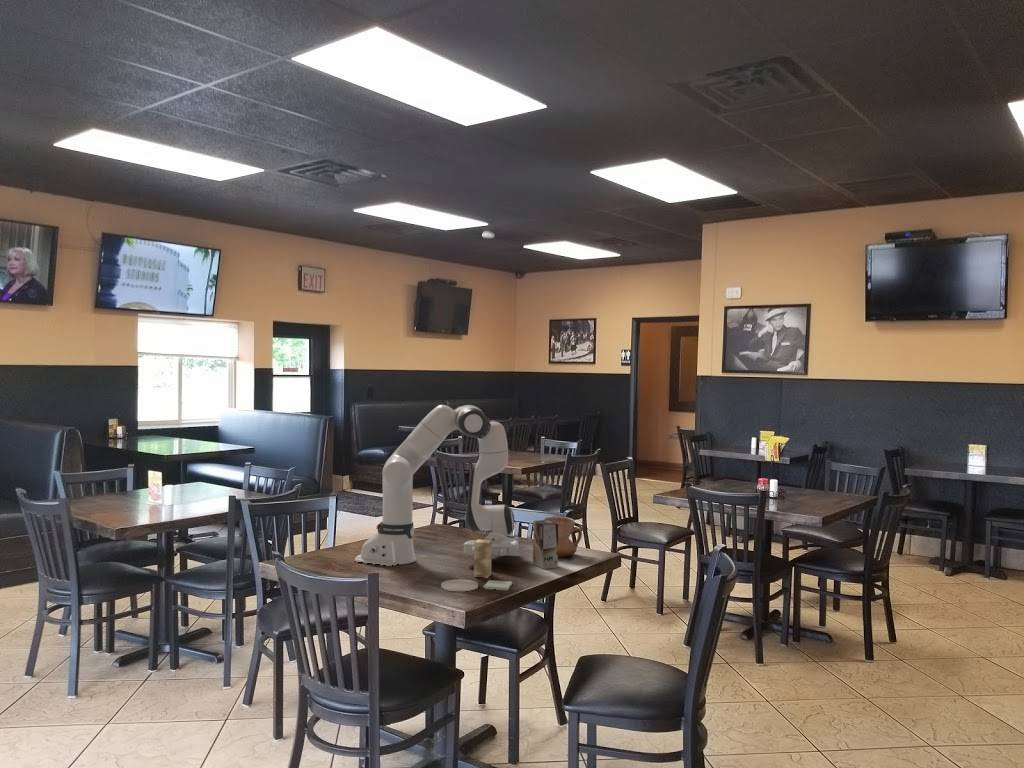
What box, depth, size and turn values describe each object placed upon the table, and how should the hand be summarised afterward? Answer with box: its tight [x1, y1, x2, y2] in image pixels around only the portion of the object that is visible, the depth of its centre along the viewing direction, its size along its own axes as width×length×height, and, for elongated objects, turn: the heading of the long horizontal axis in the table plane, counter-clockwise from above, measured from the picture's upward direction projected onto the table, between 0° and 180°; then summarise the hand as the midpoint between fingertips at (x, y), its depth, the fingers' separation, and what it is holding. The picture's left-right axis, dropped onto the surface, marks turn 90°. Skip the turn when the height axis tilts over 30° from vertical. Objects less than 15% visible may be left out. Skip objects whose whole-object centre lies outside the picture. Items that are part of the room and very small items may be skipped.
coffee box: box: [532, 519, 559, 570], centre depth 279 cm, size 9×6×16 cm
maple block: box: [473, 539, 492, 579], centre depth 263 cm, size 5×5×12 cm
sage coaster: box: [483, 579, 513, 591], centre depth 250 cm, size 8×8×1 cm
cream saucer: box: [440, 578, 479, 592], centre depth 248 cm, size 12×12×1 cm
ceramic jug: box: [542, 516, 583, 558], centre depth 296 cm, size 18×14×14 cm
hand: (487, 552), depth 270 cm, fingers open, 8 cm apart
